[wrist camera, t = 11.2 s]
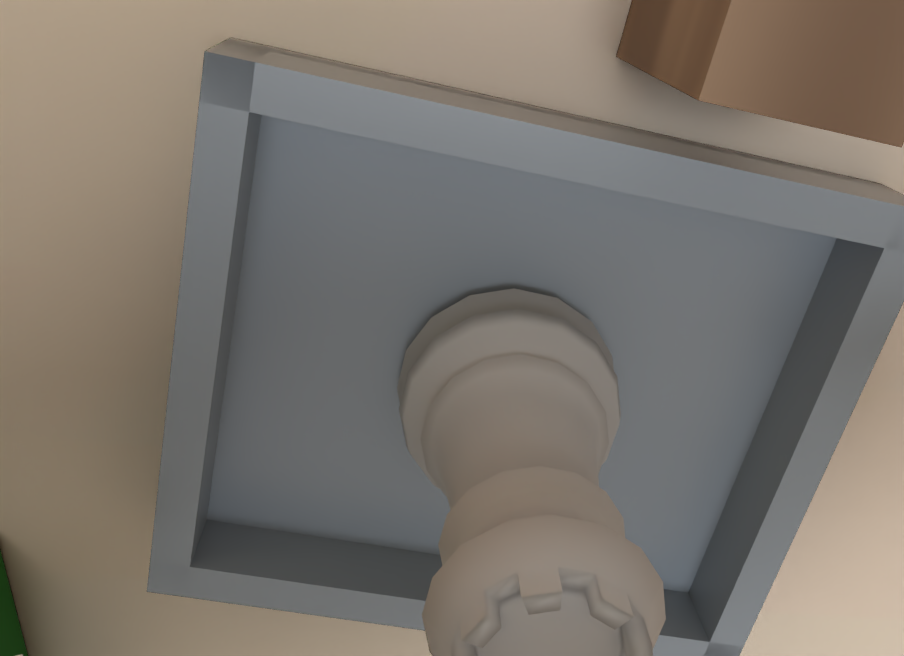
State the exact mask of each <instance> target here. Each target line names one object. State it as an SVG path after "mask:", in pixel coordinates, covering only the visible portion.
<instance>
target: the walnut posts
mask: <svg viewBox="0 0 904 656" xmlns="http://www.w3.org/2000/svg"><path fill="white" fill-rule="evenodd" d="M616 57H618V58H620V59H622V60H624V61H625V62H627V63H629V64H631V65H633V66H635V67H637V68H639V69H640V70H642V71H644V72H646V73H648V74H650V75H652V76H654V77H655V78H657V79H659V80H661V81H663V82H665V83H667V84H669V85H671V86H672V87H674V88H676V89H678V90H680V91H682V92H684V93H686V94H687V95H689V96H691V97H693V98H695V99H697V100H699V101H703V102H708V103H712V104H716V105H721V106H725V107H729V108H734V109H738V110H742V111H747V112H751V113H755V114H759V115H764V116H768V117H772V118H777V119H781V120H785V121H790V122H794V123H798V124H803V125H807V126H811V127H816V128H820V129H824V130H829V131H833V132H837V133H841V134H846V135H850V136H854V137H859V138H863V139H867V140H872V141H876V142H880V143H885V144H889V145H893V146H898V147H902V145H903V143H904V0H632V3H631V7H630V10H629V14H628V17H627V21H626V24H625V28H624V31H623V35H622V38H621V42H620V45H619V49H618V52H617V56H616Z"/></svg>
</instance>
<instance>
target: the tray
mask: <svg viewBox="0 0 904 656" xmlns="http://www.w3.org/2000/svg"><path fill="white" fill-rule="evenodd" d="M513 288H515V289H519V290H524V291H528V292H533V293H538V294H542V295H547V296H551V297H556V298H558V299H560V300H561V301H563V302H564V303H566V304H567V305H568V306H570V307H571V308H573V309H574V310H576V311H577V312H579V313H580V314H581V315H583V316H584V317H586V318H587V319H589V320H590V321H591V322H592V323H593V325H594V326H595V328H596V330H597V331H598V333H599V335H600V336H601V338H602V340H603V341H604V343H605V345H606V346H607V348H608V350H609V351H610V353H611V355H612V359H613V370H614V372H615V373H616V375H617V378H618V389H619V400H620V411H621V417H620V423H619V427H618V430H617V432H616V435H615V438H614V441H613V443H612V446H611V449H610V452H609V455H608V457H607V460H606V461H605V462H604V463H603V464H602V466H601V468H600V471H599V474H598V478H599V488H601V489H603V490H604V491H606V492H607V494H608V495H609V497H610V498H611V500H612V502H613V503H614V505H615V506H616V508H617V509H618V511H619V512H620V514H621V515H622V517H623V519H624V529H625V538H626V539H627V540H629V541H631V542H632V543H634V544H635V545H637V546H639V547H640V548H641V549H642V550H643V552H644V553H645V555H646V556H647V558H648V559H649V561H650V563H651V564H652V566H653V567H654V569H655V570H656V572H657V573H658V575H659V576H660V578H661V579H662V581H663V589H664V602H665V615H666V620H665V622H664V625H663V627H662V629H661V632H660V634H659V636H658V639H657V641H656V643H655V646H654V648H653V656H739V655H740V653H741V651H742V649H743V647H744V644H745V642H746V640H747V638H748V636H749V634H750V631H751V629H752V627H753V625H754V623H755V621H756V619H757V616H758V614H759V612H760V610H761V608H762V606H763V603H764V601H765V599H766V597H767V595H768V593H769V591H770V588H771V586H772V584H773V582H774V580H775V578H776V575H777V573H778V571H779V569H780V567H781V565H782V563H783V560H784V558H785V556H786V554H787V552H788V550H789V547H790V545H791V543H792V541H793V539H794V537H795V535H796V532H797V530H798V528H799V526H800V524H801V522H802V519H803V517H804V515H805V513H806V511H807V509H808V507H809V504H810V502H811V500H812V498H813V496H814V494H815V491H816V489H817V487H818V485H819V483H820V481H821V479H822V476H823V474H824V472H825V470H826V468H827V466H828V463H829V461H830V459H831V457H832V455H833V453H834V451H835V448H836V446H837V444H838V442H839V440H840V438H841V436H842V433H843V431H844V429H845V427H846V425H847V423H848V420H849V418H850V416H851V414H852V412H853V410H854V408H855V405H856V403H857V401H858V399H859V397H860V395H861V392H862V390H863V388H864V386H865V384H866V382H867V380H868V377H869V375H870V373H871V371H872V369H873V367H874V364H875V362H876V360H877V358H878V356H879V354H880V352H881V349H882V347H883V345H884V343H885V341H886V339H887V336H888V334H889V332H890V330H891V328H892V326H893V324H894V321H895V319H896V317H897V315H898V313H899V311H900V308H901V306H902V304H903V302H904V195H903V194H901V193H899V192H897V191H895V190H893V189H891V188H889V187H887V186H885V185H883V184H880V183H875V182H871V181H866V180H862V179H858V178H853V177H849V176H844V175H840V174H835V173H831V172H826V171H822V170H818V169H813V168H809V167H804V166H800V165H795V164H791V163H786V162H782V161H778V160H773V159H769V158H764V157H760V156H755V155H751V154H746V153H742V152H737V151H733V150H729V149H724V148H720V147H715V146H711V145H706V144H702V143H697V142H693V141H689V140H684V139H680V138H675V137H671V136H666V135H662V134H657V133H653V132H649V131H644V130H640V129H635V128H631V127H626V126H622V125H617V124H613V123H609V122H604V121H600V120H595V119H591V118H586V117H582V116H577V115H573V114H568V113H564V112H560V111H555V110H551V109H546V108H542V107H537V106H533V105H528V104H524V103H520V102H515V101H511V100H506V99H502V98H497V97H493V96H488V95H484V94H480V93H475V92H471V91H466V90H462V89H457V88H453V87H448V86H444V85H440V84H435V83H431V82H426V81H422V80H417V79H413V78H408V77H404V76H399V75H395V74H391V73H386V72H382V71H377V70H373V69H368V68H364V67H359V66H355V65H351V64H346V63H342V62H337V61H333V60H328V59H324V58H319V57H315V56H311V55H306V54H302V53H297V52H293V51H288V50H284V49H279V48H275V47H270V46H266V45H262V44H257V43H253V42H248V41H244V40H239V39H235V38H229V39H227V40H225V41H223V42H221V43H219V44H217V45H215V46H213V47H212V48H210V49H208V50H206V51H205V53H204V62H203V71H202V81H201V90H200V99H199V109H198V118H197V127H196V137H195V146H194V156H193V165H192V174H191V184H190V193H189V202H188V212H187V221H186V230H185V240H184V249H183V258H182V268H181V277H180V287H179V296H178V305H177V315H176V324H175V333H174V343H173V352H172V361H171V371H170V380H169V389H168V399H167V408H166V418H165V427H164V436H163V446H162V455H161V464H160V474H159V483H158V492H157V502H156V511H155V520H154V530H153V539H152V549H151V558H150V567H149V577H148V586H147V592H152V593H160V594H167V595H174V596H181V597H188V598H195V599H202V600H210V601H217V602H224V603H231V604H238V605H245V606H252V607H260V608H267V609H274V610H281V611H288V612H295V613H302V614H310V615H317V616H324V617H331V618H338V619H345V620H352V621H360V622H367V623H374V624H381V625H388V626H395V627H402V628H410V629H417V630H424V631H425V628H424V623H423V619H422V612H423V609H424V605H425V602H426V598H427V595H428V591H429V588H430V584H431V581H432V577H433V576H434V575H435V574H436V573H437V572H438V571H439V569H440V568H441V567H442V561H441V556H440V551H439V546H438V544H439V540H440V537H441V533H442V530H443V526H444V523H445V519H446V516H447V514H448V513H449V512H450V506H449V502H448V499H447V497H446V496H445V495H444V493H443V492H442V491H441V489H439V488H437V487H436V486H434V485H433V484H432V483H431V481H430V480H429V479H428V477H427V476H426V475H425V473H424V472H423V470H422V469H421V468H420V466H419V465H418V464H417V462H416V461H415V460H414V458H413V457H412V456H411V454H410V452H409V450H408V448H407V446H406V441H405V437H404V432H403V427H402V422H401V417H400V413H399V406H400V401H399V396H398V391H397V386H398V382H399V378H400V373H401V369H402V365H403V361H404V357H405V353H406V350H407V348H408V347H409V346H410V344H411V343H412V342H413V341H414V339H415V338H416V337H417V335H418V334H419V333H420V331H421V330H422V329H423V328H424V326H425V325H426V324H427V322H428V321H429V320H430V319H431V317H433V316H435V315H436V314H438V313H440V312H441V311H443V310H445V309H447V308H448V307H450V306H452V305H454V304H455V303H457V302H459V301H461V300H462V299H464V298H466V297H467V296H469V295H475V294H481V293H487V292H494V291H500V290H507V289H513Z"/></svg>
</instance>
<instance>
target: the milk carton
mask: <svg viewBox="0 0 904 656" xmlns="http://www.w3.org/2000/svg"><path fill="white" fill-rule="evenodd" d="M21 654H23V656H28V654H27V650H26V646H25V643H24V639H23V635H22V631H21V627H20V623H19V620H18V616H17V612H16V608H15V604H14V600H13V597H12V593H11V589H10V585H9V581H8V577H7V574H6V570H5V566H4V562H3V558H2V554H1V551H0V656H16V655H21Z"/></svg>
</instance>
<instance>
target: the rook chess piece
mask: <svg viewBox="0 0 904 656" xmlns="http://www.w3.org/2000/svg"><path fill="white" fill-rule="evenodd" d="M397 391H398V396H399V401H400V406H399V413H400V417H401V422H402V427H403V432H404V437H405V441H406V446H407V448H408V450H409V452H410V454H411V456H412V457H413V458H414V460H415V461H416V462H417V464H418V465H419V466H420V468H421V469H422V470H423V472H424V473H425V475H426V476H427V477H428V479H429V480H430V481H431V483H432V484H433V485H434V486H436V487H437V488H439V489H441V491H442V492H443V493H444V495H445V496H446V497H447V499H448V502H449V506H450V512H449V513H448V514H447V516H446V519H445V523H444V526H443V530H442V533H441V537H440V540H439V544H438V546H439V551H440V556H441V561H442V567H441V568H440V569H439V571H438V572H437V573H436V574H435V575H434V576H433V577H432V581H431V584H430V588H429V591H428V595H427V598H426V602H425V605H424V609H423V612H422V619H423V623H424V628H425V632H426V637H427V641H428V646H429V650H430V652H431V654H432V655H433V656H653V648H654V646H655V643H656V641H657V639H658V636H659V634H660V632H661V629H662V627H663V625H664V622H665V620H666V615H665V602H664V589H663V581H662V579H661V578H660V576H659V575H658V573H657V572H656V570H655V569H654V567H653V566H652V564H651V563H650V561H649V559H648V558H647V556H646V555H645V553H644V552H643V550H642V549H641V548H640V547H639V546H637V545H635V544H634V543H632V542H631V541H629V540H627V539H626V538H625V529H624V519H623V517H622V515H621V514H620V512H619V511H618V509H617V508H616V506H615V505H614V503H613V502H612V500H611V498H610V497H609V495H608V494H607V492H606V491H604V490H603V489H601V488H599V478H598V474H599V471H600V468H601V466H602V464H603V463H604V462H605V461H606V460H607V457H608V455H609V452H610V449H611V446H612V443H613V441H614V438H615V435H616V432H617V430H618V427H619V423H620V417H621V411H620V400H619V389H618V378H617V375H616V373H615V372H614V370H613V359H612V355H611V353H610V351H609V350H608V348H607V346H606V345H605V343H604V341H603V340H602V338H601V336H600V335H599V333H598V331H597V330H596V328H595V326H594V325H593V323H592V322H591V321H590V320H589V319H587V318H586V317H584V316H583V315H581V314H580V313H579V312H577V311H576V310H574V309H573V308H571V307H570V306H568V305H567V304H566V303H564V302H563V301H561V300H560V299H558V298H556V297H551V296H547V295H542V294H538V293H533V292H528V291H524V290H519V289H515V288H513V289H507V290H500V291H494V292H487V293H481V294H475V295H469V296H467V297H466V298H464V299H462V300H461V301H459V302H457V303H455V304H454V305H452V306H450V307H448V308H447V309H445V310H443V311H441V312H440V313H438V314H436V315H435V316H433V317H431V319H430V320H429V321H428V322H427V324H426V325H425V326H424V328H423V329H422V330H421V331H420V333H419V334H418V335H417V337H416V338H415V339H414V341H413V342H412V343H411V344H410V346H409V347H408V348H407V350H406V353H405V357H404V361H403V365H402V369H401V373H400V378H399V382H398V386H397Z"/></svg>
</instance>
